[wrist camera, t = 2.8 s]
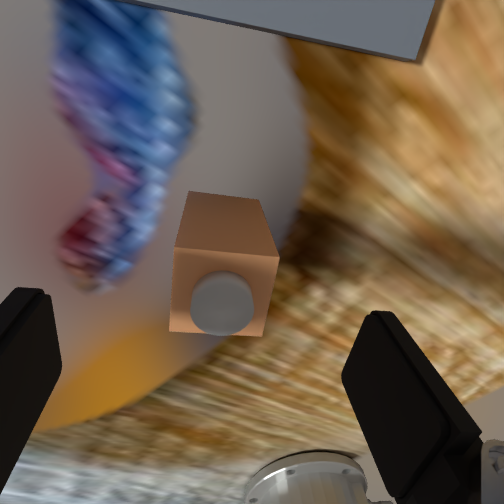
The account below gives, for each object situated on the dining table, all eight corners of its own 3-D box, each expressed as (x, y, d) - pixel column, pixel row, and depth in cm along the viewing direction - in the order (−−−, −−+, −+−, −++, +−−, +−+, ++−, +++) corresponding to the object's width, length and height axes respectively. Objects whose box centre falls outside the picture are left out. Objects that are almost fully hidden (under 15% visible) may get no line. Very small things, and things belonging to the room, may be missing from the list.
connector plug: (258, 199, 19) (284, 270, 12) (248, 259, 20) (265, 353, 13) (188, 190, 18) (170, 260, 11) (183, 253, 20) (166, 348, 13)
